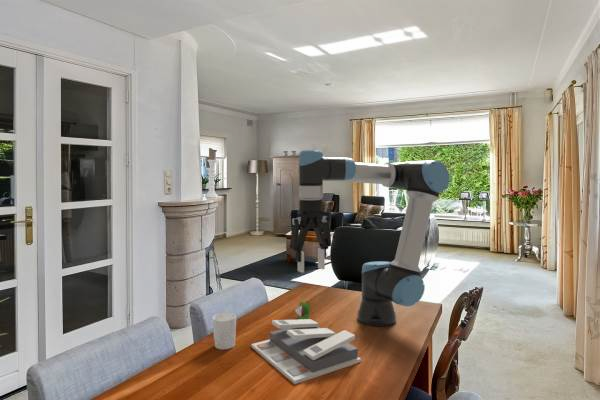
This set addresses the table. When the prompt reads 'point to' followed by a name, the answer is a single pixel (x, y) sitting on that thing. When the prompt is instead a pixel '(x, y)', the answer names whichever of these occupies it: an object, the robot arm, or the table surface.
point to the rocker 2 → (310, 333)
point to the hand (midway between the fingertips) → (311, 269)
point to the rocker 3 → (329, 344)
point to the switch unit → (303, 355)
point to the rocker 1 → (294, 323)
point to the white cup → (224, 330)
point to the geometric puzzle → (303, 310)
